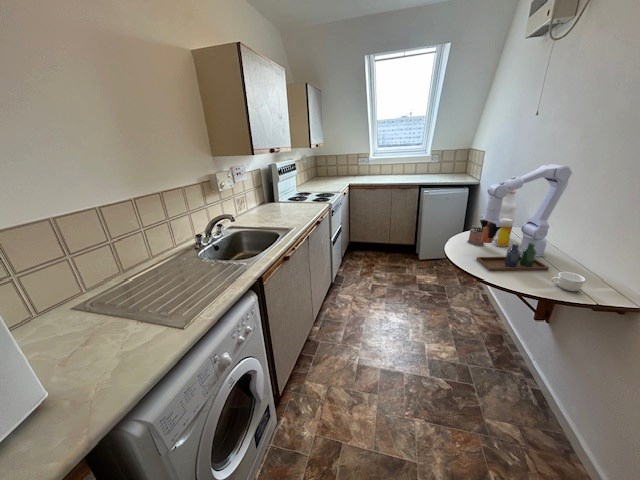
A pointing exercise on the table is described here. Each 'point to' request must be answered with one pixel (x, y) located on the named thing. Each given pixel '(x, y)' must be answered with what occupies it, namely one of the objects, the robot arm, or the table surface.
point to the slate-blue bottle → (512, 256)
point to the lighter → (476, 236)
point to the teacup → (569, 281)
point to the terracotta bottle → (486, 234)
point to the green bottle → (528, 256)
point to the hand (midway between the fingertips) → (487, 235)
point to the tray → (498, 265)
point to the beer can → (504, 232)
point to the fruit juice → (508, 207)
